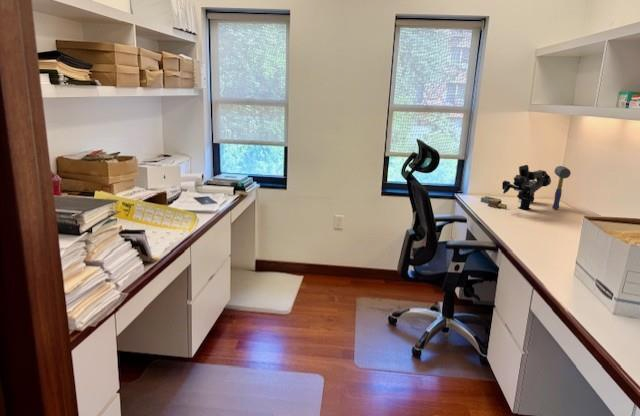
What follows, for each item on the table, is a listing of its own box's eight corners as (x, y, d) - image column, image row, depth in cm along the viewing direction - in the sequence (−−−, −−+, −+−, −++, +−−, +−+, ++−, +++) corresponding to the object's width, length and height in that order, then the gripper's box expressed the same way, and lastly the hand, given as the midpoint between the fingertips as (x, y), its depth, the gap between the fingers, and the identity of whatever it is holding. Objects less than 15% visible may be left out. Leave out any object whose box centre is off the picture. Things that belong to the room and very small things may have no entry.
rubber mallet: (564, 212, 294) (572, 168, 286) (552, 211, 295) (560, 167, 288) (558, 207, 306) (566, 165, 298) (546, 206, 307) (554, 164, 300)
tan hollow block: (492, 204, 306) (493, 198, 304) (500, 206, 301) (501, 200, 300) (487, 206, 301) (488, 199, 300) (496, 207, 297) (497, 201, 296)
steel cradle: (485, 200, 318) (486, 196, 318) (500, 203, 311) (500, 199, 310) (480, 201, 313) (481, 197, 312) (495, 204, 305) (495, 200, 305)
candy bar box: (527, 200, 323) (530, 179, 319) (533, 202, 319) (537, 180, 315) (517, 201, 318) (521, 180, 314) (523, 203, 314) (527, 181, 310)
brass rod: (489, 205, 302) (489, 201, 302) (491, 205, 304) (491, 201, 304) (504, 209, 295) (505, 205, 294) (506, 208, 297) (507, 204, 296)
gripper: (508, 169, 289) (496, 180, 282) (537, 175, 276) (524, 188, 269) (508, 183, 295) (496, 194, 288) (536, 190, 282) (524, 202, 275)
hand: (510, 194), depth 280 cm, fingers open, 9 cm apart
